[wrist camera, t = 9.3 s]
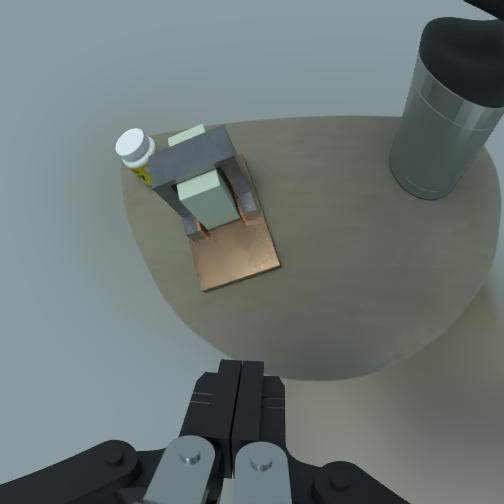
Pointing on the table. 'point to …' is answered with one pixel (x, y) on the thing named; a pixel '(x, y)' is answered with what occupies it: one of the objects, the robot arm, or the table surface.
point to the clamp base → (226, 235)
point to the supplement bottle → (137, 153)
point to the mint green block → (206, 190)
